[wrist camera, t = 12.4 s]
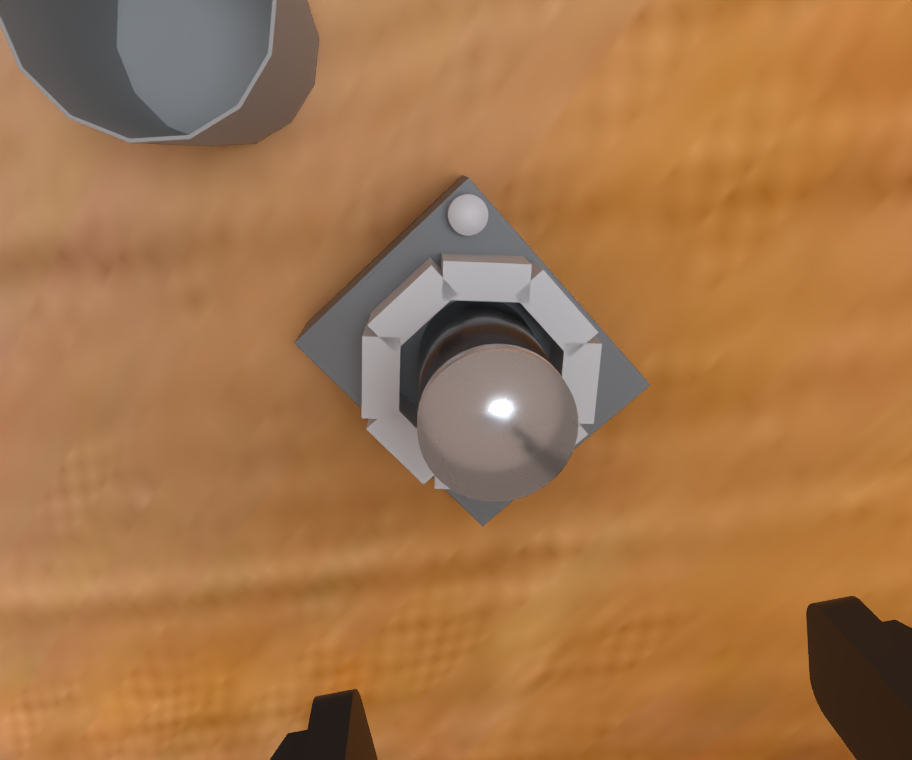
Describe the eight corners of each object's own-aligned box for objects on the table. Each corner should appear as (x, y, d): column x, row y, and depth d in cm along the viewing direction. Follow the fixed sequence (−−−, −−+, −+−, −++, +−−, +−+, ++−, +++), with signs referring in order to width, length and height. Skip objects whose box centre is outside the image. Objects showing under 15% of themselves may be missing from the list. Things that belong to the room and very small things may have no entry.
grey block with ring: (626, 360, 37) (668, 403, 30) (475, 489, 38) (487, 554, 32) (462, 175, 34) (473, 179, 27) (307, 322, 35) (284, 358, 29)
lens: (529, 287, 31) (570, 339, 23) (541, 401, 33) (585, 489, 24) (409, 305, 31) (405, 362, 23) (427, 417, 33) (429, 512, 24)
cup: (193, 181, 33) (103, 191, 24) (77, 2, 31) (-75, -66, 21) (355, 83, 32) (330, 52, 23) (249, -108, 30) (171, -231, 20)
